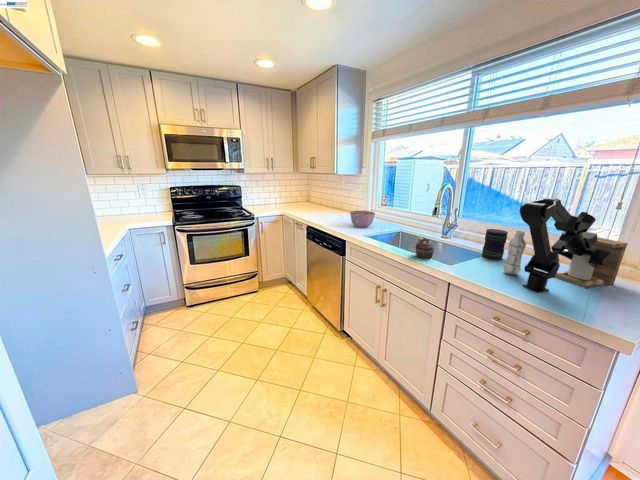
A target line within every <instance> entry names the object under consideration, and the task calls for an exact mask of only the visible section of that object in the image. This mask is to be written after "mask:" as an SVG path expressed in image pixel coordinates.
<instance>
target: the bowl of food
mask: <svg viewBox="0 0 640 480" xmlns="http://www.w3.org/2000/svg"><path fill="white" fill-rule="evenodd" d="M349 214H350V220H351V223H352V224H353V225H354V226H355V227H357V228H358V229H359V228H360V229H363V228H365V229H366V228H368V227H369V226H371V225H372V224H373V223H374V219H375V215H376V212H374V211H369V210H351V211H349Z"/></svg>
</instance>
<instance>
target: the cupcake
mask: <svg viewBox="0 0 640 480" xmlns="http://www.w3.org/2000/svg"><path fill="white" fill-rule="evenodd" d="M434 252H435V248H434V245H433V244H432V241H430V239H427V238H425V237H424V238H423V239H421V238H420V239H419V238H418V240H417V242H416V244H415V255H416V256H415V257H417V258H418V259H422V260H431V259H433V255H434Z"/></svg>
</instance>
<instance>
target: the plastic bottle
mask: <svg viewBox="0 0 640 480" xmlns="http://www.w3.org/2000/svg"><path fill="white" fill-rule="evenodd" d="M526 247H527V242H526V240H525V231H520V230H516V231H515V232H514V234H513V237H512V238H511V239H510V240H509V242H508V250H507V256H506V259H505V262H504V264H503V268H502V270H503V272H504V273H505V274H507V275H512V276H513V275H514V276H517V275H519V274H520V272H521V262H522V257H523V254H524V252H525V249H526Z"/></svg>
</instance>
